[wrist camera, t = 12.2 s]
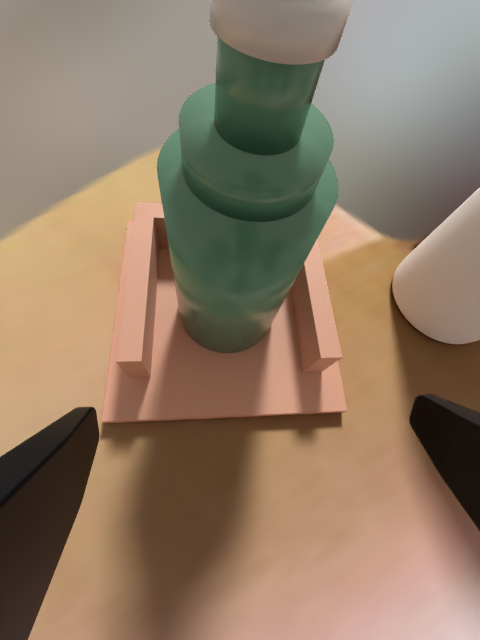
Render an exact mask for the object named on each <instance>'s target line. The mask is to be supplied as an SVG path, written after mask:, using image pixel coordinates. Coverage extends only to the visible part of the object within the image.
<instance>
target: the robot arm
mask: <svg viewBox="0 0 480 640" xmlns="http://www.w3.org/2000/svg"><path fill="white" fill-rule="evenodd" d="M410 425H411V427H412V429H413V430H414V432H415V434H416V436H417V437H418V439H419V441H420V442H421V444H422V446H423V447H424V449H425V451H426V452H427V454H428V456H429V457H430V459H431V461H432V463H433V464H434V466H435V468H436V469H437V471H438V472H439V474H440V476H441V477H442V479H443V480H444V481H445V483H446V484H447V486H448V487H449V489H450V490H451V491H452V493H453V494H454V496H455V497H456V499H457V500H458V501H459V503H460V504H461V506H462V507H463V508H464V510H465V511H466V513H467V514H468V515H469V517H470V518H471V520H472V521H473V522H474V524H475V525H476V527H477V528H478V530H479V531H480V413H479V412H476V411H474V410H471V409H469V408H466V407H464V406H461V405H458V404H456V403H453V402H451V401H448V400H446V399H443V398H440V397H438V396H435V395H432V394H425V395H418V396H417V397H416V398H415V401H414V404H413V407H412V411H411V414H410ZM98 442H99V428H98V421H97V415H96V410H95V408H93V407H77V408H75V409H73V410H72V411H70V412H69V413H67V414H66V415H64V416H63V417H61V418H60V419H58V420H56V421H55V422H53V423H52V424H50V425H49V426H47V427H46V428H44V429H43V430H41V431H40V432H38V433H36V434H35V435H33V436H32V437H30V438H29V439H27V440H26V441H24V442H23V443H21V444H19V445H18V446H16V447H15V448H13V449H12V450H10V451H9V452H7V453H6V454H4V455H3V456H1V457H0V640H28V638H29V635H30V633H31V630H32V628H33V625H34V623H35V620H36V617H37V615H38V612H39V610H40V607H41V605H42V602H43V600H44V597H45V595H46V592H47V590H48V587H49V584H50V582H51V579H52V577H53V574H54V572H55V569H56V567H57V564H58V562H59V559H60V557H61V554H62V552H63V549H64V546H65V544H66V541H67V539H68V536H69V534H70V531H71V529H72V526H73V524H74V521H75V519H76V516H77V513H78V511H79V508H80V505H81V502H82V499H83V496H84V492H85V489H86V485H87V482H88V478H89V474H90V471H91V467H92V464H93V460H94V456H95V453H96V449H97V446H98Z"/></svg>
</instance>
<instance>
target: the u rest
mask: <svg viewBox="0 0 480 640" xmlns="http://www.w3.org/2000/svg"><path fill="white" fill-rule="evenodd" d="M341 358H342V353H341V348H340V344H339V339H338V334H337V329H336V325H335V320H334V315H333V310H332V305H331V301H330V296H329V291H328V286H327V282H326V277H325V272H324V267H323V262H322V258H321V253H320V248H319V243H318V239H317V240H316V242H315V244H314V246H313V248H312V249H311V251H310V253H309V255H308V257H307V259H306V261H305V263H304V264H303V266H302V268H301V270H300V272H299V274H298V276H297V278H296V279H295V281H294V283H293V285H292V287H291V289H290V291H289V293H288V294H287V296H286V298H285V300H284V302H283V304H282V306H281V308H280V309H279V311H278V313H277V315H276V317H275V319H274V321H273V323H272V324H271V326H270V328H269V330H268V332H267V333H266V335H265V336H264V338H263V339H262V340H261V341H260V342H258V343H257V344H256V345H254V346H253V347H251V348H249V349H247V350H244V351H241V352H236V353H219V352H215V351H211V350H209V349H206V348H204V347H202V346H200V345H199V344H198V343H196V342H195V341H194V340H193V339H192V338H191V337H190V336H189V335H188V334H187V332H186V331H185V329H184V327H183V325H182V323H181V319H180V315H179V308H178V302H177V295H176V289H175V283H174V276H173V270H172V264H171V257H170V251H169V244H168V238H167V232H166V225H165V219H164V212H163V206H162V203H143V202H135V209H134V217H133V221H128V225H127V232H126V240H125V247H124V255H123V262H122V270H121V278H120V285H119V293H118V300H117V308H116V315H115V323H114V331H113V338H112V346H111V353H110V361H109V368H108V376H107V384H106V391H105V399H104V406H103V414H102V421H101V422H104V423H122V422H144V421H166V420H188V419H210V418H232V417H254V416H276V415H298V414H320V413H342V412H345V411H348V410H347V405H346V400H345V395H344V390H343V385H342V380H341V375H340V370H339V365H338V360H339V359H341Z"/></svg>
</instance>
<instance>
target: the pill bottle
mask: <svg viewBox="0 0 480 640" xmlns="http://www.w3.org/2000/svg"><path fill="white" fill-rule="evenodd" d="M392 289H393V295H394V298H395V301H396V303H397V306H398V307H399V309H400V311H401V312H402V314H403V315H404V317H405V318H406V319H407V320H408V321H409V322H410V323H411V324H412V325H413V326H414V327H415V328H416V329H418V330H419V331H420V332H422V333H423V334H425V335H426V336H428V337H430V338H432V339H435V340H437V341H440V342H444V343H449V344H466V343H471V342H474V341H478V340H480V188H479V189H478V190H476V191H475V192H474V193H473V194H472V195H471V196H470V197H469V198H468V199H467V200H466V201H465V202H464V203H463V204H462V205H461V206H460V207H458V209H456V210H455V211H454V212H453V213H452V214H451V215H450V216H449V217H448V218H447V219H446V220H445V221H444V222H443V223H442V224H441V225H439V226H438V227H437V228H436V229H435V230H434V231H433V232H432V233H431V234H430V235H429V236H428V237H427V238H426V239H425V240H424V241H422V242H421V243H420V244H419V245H418V246H417V247H416V248H415V249H414V250H413V251H412V252H411V253H410V254H409V255H408V256H407V257H406V258H405V259H404V260H403V261H402V262H401V263H400V265H399V266H398V267H397V269H396V271H395V273H394V276H393V282H392Z"/></svg>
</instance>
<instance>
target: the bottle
mask: <svg viewBox="0 0 480 640" xmlns="http://www.w3.org/2000/svg"><path fill="white" fill-rule="evenodd" d="M352 3H353V0H209V23H210V26H211V28H212V30H213V31H214V33H215V34H216V35H217V55H216V81H215V82H216V83H214V84H211V85H208V86H205V87H203V88H201V89H199V90H198V91H196V92H194V93H193V94H192V95H191V96H190V97H189V98H188V99H187V100H186V101H185V102H184V104H183V106H182V108H181V111H180V114H179V129H178V130H176V131H175V132H174V133H173V134H172V135H171V136H170V137H169V138H168V139H167V141H166V142H165V143H164V145H163V147H162V149H161V151H160V154H159V157H158V162H157V173H158V181H159V187H160V193H161V200H162V206H163V212H164V219H165V225H166V232H167V238H168V244H169V251H170V257H171V264H172V270H173V276H174V283H175V289H176V295H177V302H178V308H179V315H180V319H181V323H182V325H183V327H184V329H185V331H186V332H187V334H188V335H189V336H190V337H191V338H192V339H193V340H194V341H195V342H196V343H198V344H199V345H200V346H202V347H204V348H206V349H209V350H211V351H215V352H219V353H236V352H241V351H244V350H247V349H249V348H251V347H253V346H254V345H256V344H257V343H258V342H260V341H261V340H262V339H263V338H264V336H265V335H266V333H267V332H268V330H269V328H270V326H271V324H272V323H273V321H274V319H275V317H276V315H277V313H278V311H279V309H280V308H281V306H282V304H283V302H284V300H285V298H286V296H287V294H288V293H289V291H290V289H291V287H292V285H293V283H294V281H295V279H296V278H297V276H298V274H299V272H300V270H301V268H302V266H303V264H304V263H305V261H306V259H307V257H308V255H309V253H310V251H311V249H312V248H313V246H314V244H315V242H316V240H317V238H318V236H319V234H320V233H321V231H322V229H323V227H324V225H325V223H326V221H327V219H328V218H329V216H330V214H331V212H332V210H333V208H334V206H335V204H336V200H337V197H338V179H337V176H336V172H335V170H334V167H333V165H332V163H331V161H330V160H329V157H330V155H331V152H332V149H333V142H334V140H333V134H332V130H331V127H330V125H329V123H328V121H327V120H326V118H325V117H324V116H323V114H322V113H321V112H320V111H319V110H318V109H317V108H316V107H315V106H314V105H312V104H311V102H312V99H313V96H314V93H315V89H316V86H317V83H318V80H319V77H320V73H321V70H322V67H323V64H324V61H325V59H327V58H329V57H330V56H332V55H333V54H334V53H335V51H336V50H337V48H338V45H339V42H340V39H341V36H342V33H343V30H344V27H345V24H346V21H347V18H348V15H349V12H350V9H351V6H352Z"/></svg>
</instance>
